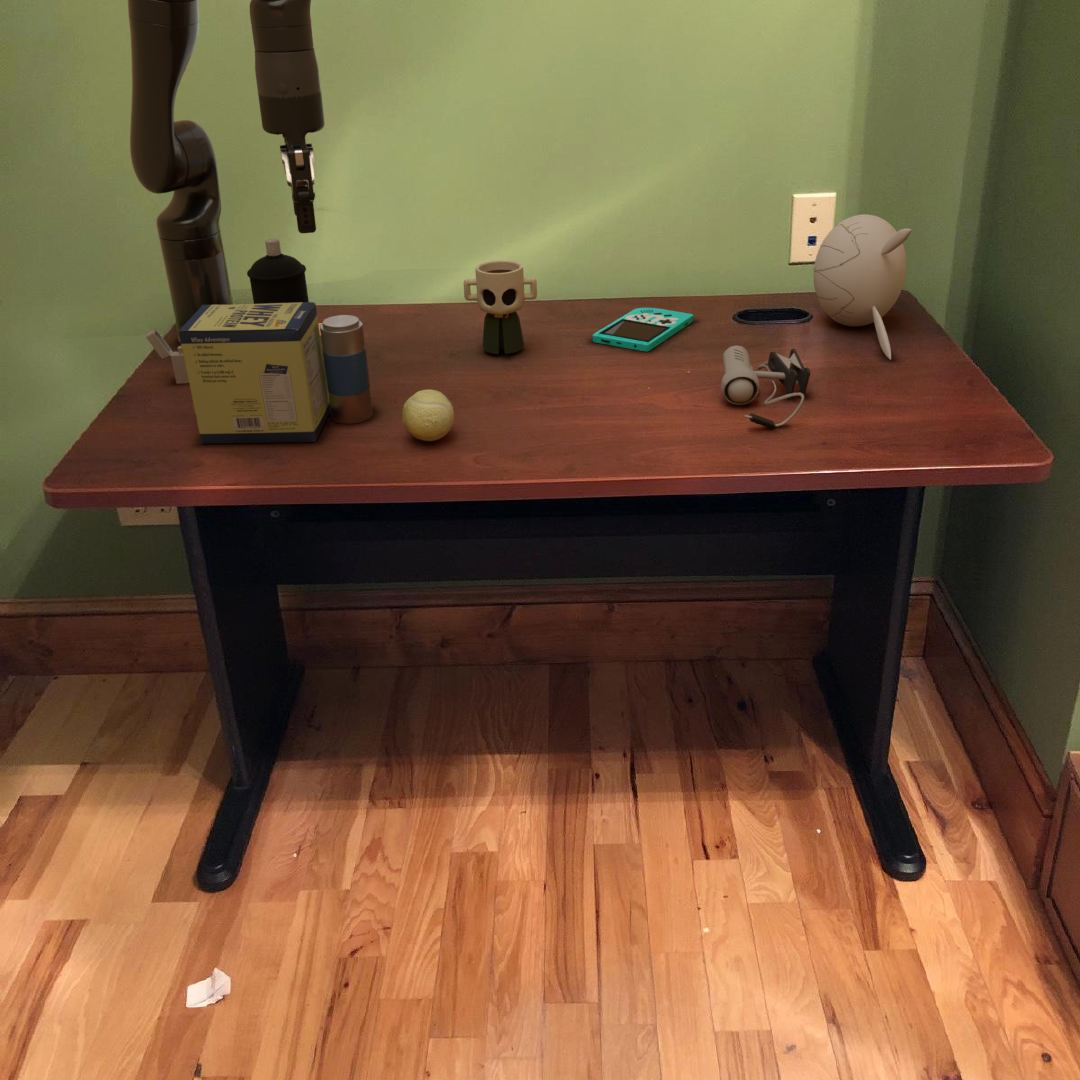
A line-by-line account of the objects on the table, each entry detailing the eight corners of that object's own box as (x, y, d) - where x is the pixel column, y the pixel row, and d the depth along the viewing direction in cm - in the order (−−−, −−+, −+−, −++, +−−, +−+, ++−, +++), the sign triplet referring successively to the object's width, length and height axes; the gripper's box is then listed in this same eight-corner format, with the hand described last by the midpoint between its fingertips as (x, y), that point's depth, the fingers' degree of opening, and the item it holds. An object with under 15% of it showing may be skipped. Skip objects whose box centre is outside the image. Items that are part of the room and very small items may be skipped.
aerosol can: (307, 387, 165) (288, 249, 155) (254, 384, 166) (232, 247, 156) (328, 366, 172) (310, 233, 162) (277, 364, 173) (256, 232, 163)
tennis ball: (460, 445, 146) (457, 396, 142) (409, 453, 144) (404, 404, 141) (450, 426, 151) (446, 378, 148) (400, 433, 149) (395, 385, 146)
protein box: (220, 413, 157) (200, 303, 150) (332, 410, 157) (317, 300, 149) (198, 445, 148) (175, 330, 141) (317, 443, 148) (300, 327, 140)
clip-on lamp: (813, 449, 148) (796, 370, 161) (824, 409, 143) (806, 332, 157) (723, 443, 148) (713, 365, 161) (731, 403, 143) (720, 326, 157)
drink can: (329, 410, 157) (317, 316, 150) (370, 405, 158) (359, 311, 151) (333, 426, 152) (320, 329, 146) (375, 421, 153) (364, 325, 147)
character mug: (465, 359, 172) (459, 274, 166) (470, 343, 178) (464, 260, 172) (537, 358, 172) (534, 273, 165) (540, 341, 178) (537, 259, 171)
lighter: (206, 377, 169) (196, 325, 165) (204, 382, 168) (194, 329, 164) (158, 380, 169) (147, 328, 165) (155, 384, 168) (144, 332, 164)
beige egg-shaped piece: (804, 207, 181) (858, 225, 158) (889, 209, 182) (954, 227, 159) (791, 326, 188) (840, 360, 165) (872, 328, 189) (932, 361, 166)
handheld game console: (695, 321, 184) (695, 313, 183) (648, 352, 172) (649, 344, 171) (640, 312, 189) (640, 304, 188) (591, 342, 177) (591, 333, 176)
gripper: (325, 97, 133) (339, 236, 141) (316, 78, 145) (330, 208, 153) (259, 100, 131) (277, 241, 139) (256, 81, 143) (273, 212, 151)
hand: (305, 223), depth 146 cm, fingers open, 8 cm apart
